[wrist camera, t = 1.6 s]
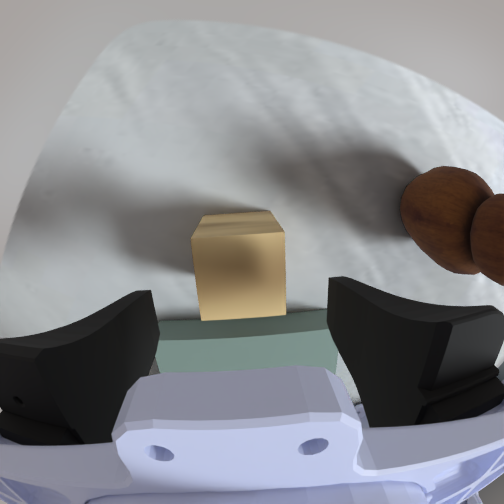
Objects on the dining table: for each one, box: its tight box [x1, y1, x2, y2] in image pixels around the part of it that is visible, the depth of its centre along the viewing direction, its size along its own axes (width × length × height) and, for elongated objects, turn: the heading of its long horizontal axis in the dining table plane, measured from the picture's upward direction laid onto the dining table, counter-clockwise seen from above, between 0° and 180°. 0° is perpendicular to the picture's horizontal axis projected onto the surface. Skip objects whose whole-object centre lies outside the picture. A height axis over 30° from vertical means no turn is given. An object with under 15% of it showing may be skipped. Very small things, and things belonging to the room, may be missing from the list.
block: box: [191, 211, 286, 321], centre depth 17 cm, size 4×4×6 cm
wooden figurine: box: [400, 166, 504, 286], centre depth 13 cm, size 7×6×15 cm
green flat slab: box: [155, 309, 338, 374], centre depth 22 cm, size 11×13×3 cm
